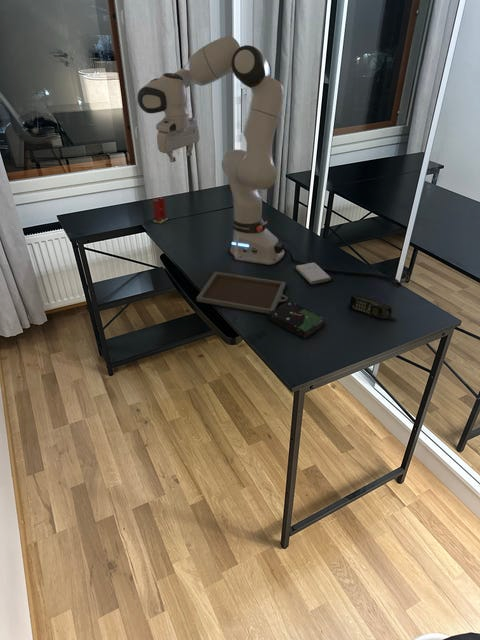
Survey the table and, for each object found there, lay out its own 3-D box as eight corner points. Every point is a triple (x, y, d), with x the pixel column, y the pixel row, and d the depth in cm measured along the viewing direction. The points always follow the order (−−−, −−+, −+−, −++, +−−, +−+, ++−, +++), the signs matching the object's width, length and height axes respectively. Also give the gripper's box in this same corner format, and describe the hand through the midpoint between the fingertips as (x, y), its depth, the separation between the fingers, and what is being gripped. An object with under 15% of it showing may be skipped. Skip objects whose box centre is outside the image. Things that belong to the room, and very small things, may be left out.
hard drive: (310, 285, 157) (295, 269, 167) (330, 280, 160) (314, 265, 169) (311, 281, 156) (295, 265, 166) (331, 277, 159) (314, 261, 168)
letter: (166, 218, 206) (164, 198, 200) (159, 221, 203) (156, 201, 197) (162, 217, 207) (160, 197, 201) (155, 220, 204) (152, 200, 198)
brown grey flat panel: (214, 271, 162) (293, 283, 155) (214, 274, 163) (292, 287, 156) (195, 297, 148) (281, 312, 140) (196, 301, 148) (281, 316, 141)
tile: (168, 218, 206) (168, 218, 206) (160, 223, 202) (160, 223, 202) (160, 216, 208) (160, 216, 208) (152, 221, 204) (152, 221, 204)
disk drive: (268, 320, 140) (305, 339, 132) (268, 313, 138) (306, 331, 130) (287, 307, 146) (324, 324, 138) (288, 300, 145) (325, 317, 136)
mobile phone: (350, 296, 142) (395, 310, 135) (353, 292, 144) (398, 305, 137) (348, 309, 145) (392, 323, 138) (351, 305, 147) (395, 318, 140)
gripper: (190, 115, 173) (192, 150, 182) (152, 126, 161) (157, 163, 169) (201, 117, 170) (204, 153, 179) (164, 129, 157) (168, 167, 166)
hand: (181, 158), depth 174 cm, fingers open, 8 cm apart
